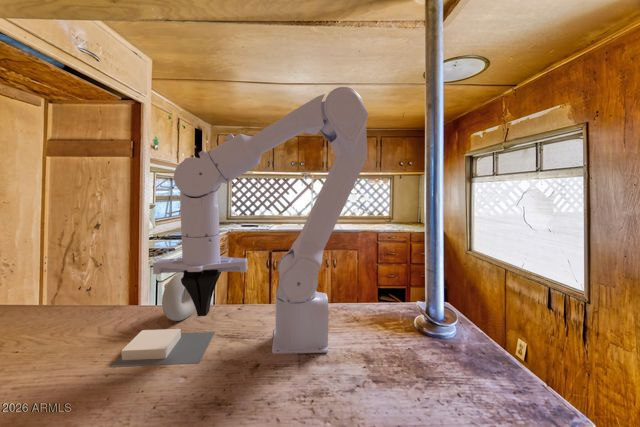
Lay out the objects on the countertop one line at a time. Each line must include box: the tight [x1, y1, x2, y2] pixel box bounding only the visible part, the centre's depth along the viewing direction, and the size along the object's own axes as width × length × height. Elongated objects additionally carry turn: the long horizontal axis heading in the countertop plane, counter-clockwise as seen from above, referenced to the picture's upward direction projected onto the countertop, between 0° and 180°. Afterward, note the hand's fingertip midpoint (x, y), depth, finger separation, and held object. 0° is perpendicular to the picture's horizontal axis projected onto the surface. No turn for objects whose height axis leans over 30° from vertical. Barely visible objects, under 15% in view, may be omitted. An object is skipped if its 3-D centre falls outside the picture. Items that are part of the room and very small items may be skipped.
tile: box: [121, 328, 182, 360], centre depth 46 cm, size 2×6×6 cm
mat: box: [109, 331, 216, 368], centre depth 46 cm, size 13×9×1 cm
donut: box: [161, 272, 196, 322], centre depth 56 cm, size 10×4×10 cm, turn 168°
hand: (203, 313), depth 46 cm, fingers closed
